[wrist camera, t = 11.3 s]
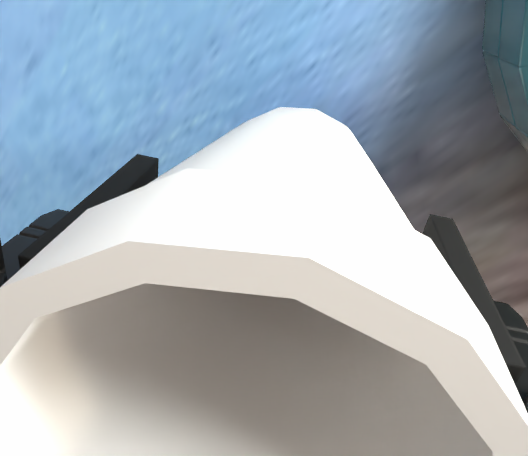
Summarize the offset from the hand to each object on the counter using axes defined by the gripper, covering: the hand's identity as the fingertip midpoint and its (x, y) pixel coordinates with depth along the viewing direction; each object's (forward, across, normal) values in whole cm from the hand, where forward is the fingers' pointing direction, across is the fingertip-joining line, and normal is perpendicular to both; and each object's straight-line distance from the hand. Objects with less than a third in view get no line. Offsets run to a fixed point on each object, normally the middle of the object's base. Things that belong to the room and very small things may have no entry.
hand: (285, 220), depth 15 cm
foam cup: (+4, 0, 0) cm, 4 cm away
